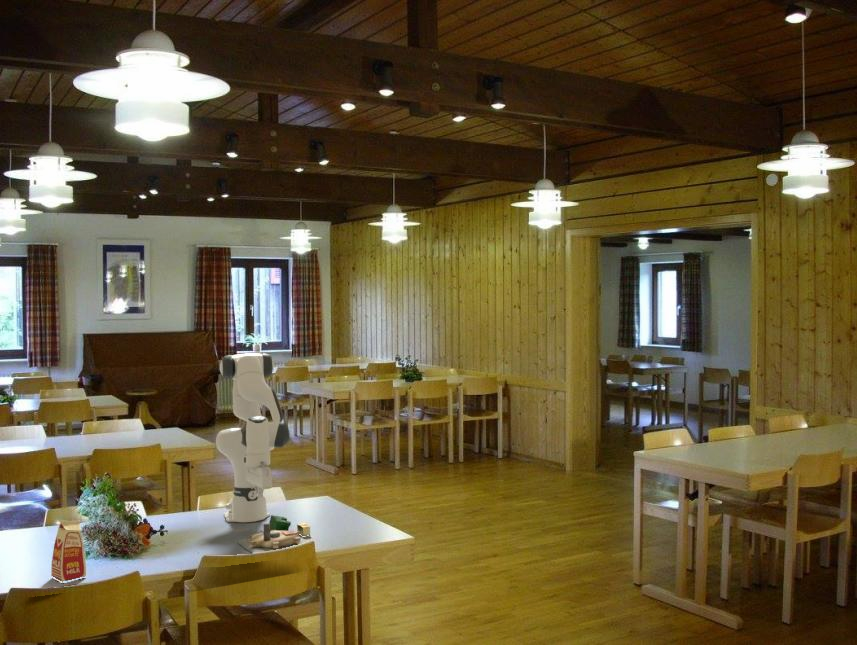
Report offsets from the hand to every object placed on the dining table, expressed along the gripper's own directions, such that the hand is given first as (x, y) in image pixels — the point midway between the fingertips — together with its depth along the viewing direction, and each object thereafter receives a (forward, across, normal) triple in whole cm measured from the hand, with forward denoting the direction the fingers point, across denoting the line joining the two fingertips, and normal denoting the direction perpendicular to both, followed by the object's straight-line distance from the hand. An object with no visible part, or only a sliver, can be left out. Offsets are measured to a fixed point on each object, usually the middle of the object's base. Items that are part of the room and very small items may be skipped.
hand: (259, 497), depth 319 cm
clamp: (+19, +16, -14) cm, 29 cm away
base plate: (+19, -1, -6) cm, 19 cm away
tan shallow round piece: (+17, -1, -6) cm, 18 cm away
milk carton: (+19, -2, +66) cm, 69 cm away
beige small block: (+19, +6, -20) cm, 28 cm away
